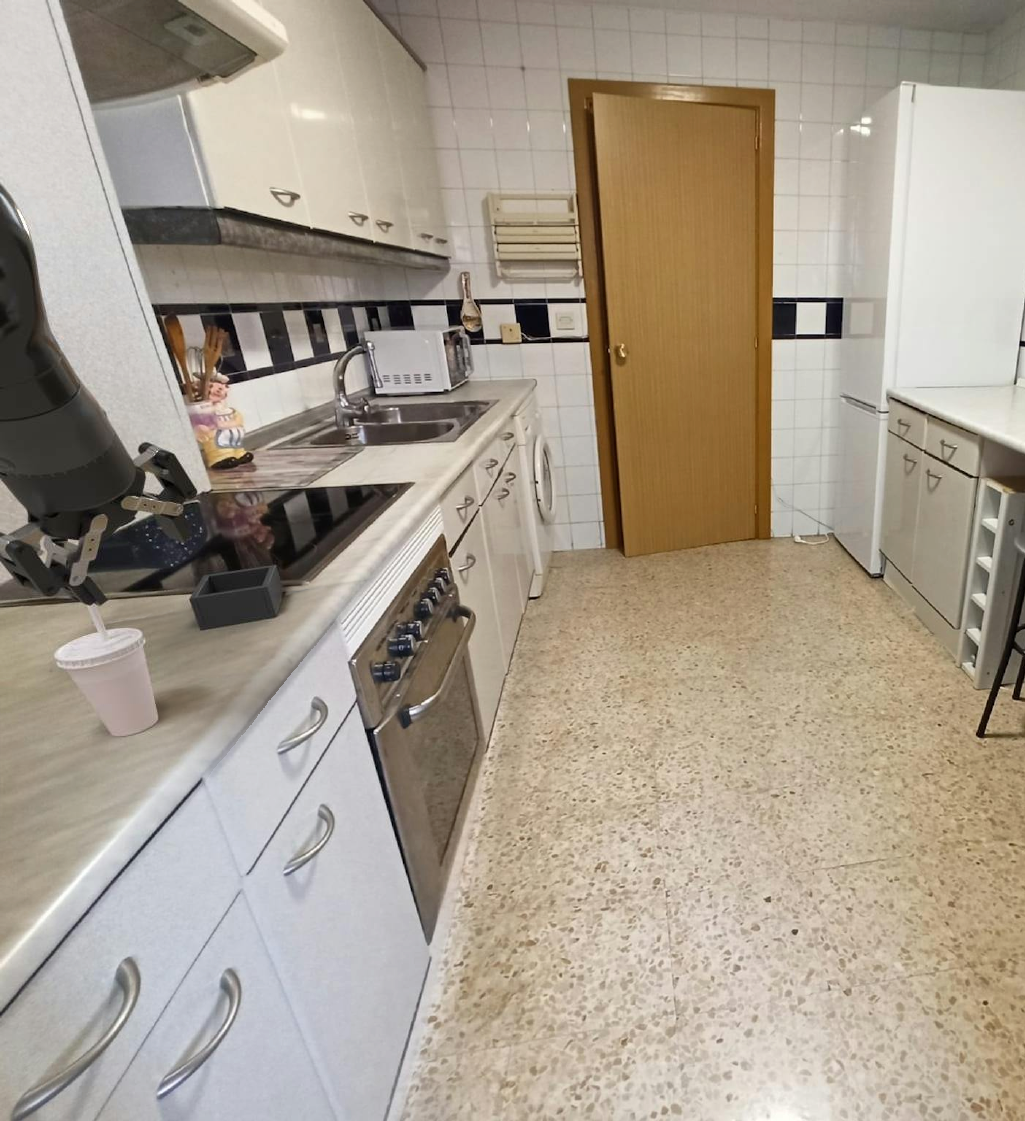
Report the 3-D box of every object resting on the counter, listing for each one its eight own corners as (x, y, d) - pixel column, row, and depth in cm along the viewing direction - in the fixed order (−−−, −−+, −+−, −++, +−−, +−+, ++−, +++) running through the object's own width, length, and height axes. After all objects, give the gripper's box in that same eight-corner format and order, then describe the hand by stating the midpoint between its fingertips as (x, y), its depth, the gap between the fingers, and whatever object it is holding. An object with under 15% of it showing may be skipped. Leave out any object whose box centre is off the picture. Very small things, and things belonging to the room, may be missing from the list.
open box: (200, 630, 85) (188, 598, 83) (214, 604, 92) (203, 575, 90) (276, 617, 89) (267, 586, 87) (284, 593, 96) (276, 564, 94)
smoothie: (171, 730, 66) (120, 607, 61) (85, 753, 63) (23, 625, 57) (178, 699, 71) (131, 583, 65) (99, 719, 68) (43, 598, 62)
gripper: (94, 373, 54) (171, 505, 66) (-108, 472, 45) (24, 606, 57) (176, 408, 54) (237, 534, 66) (-10, 515, 45) (102, 640, 57)
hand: (139, 567), depth 61 cm, fingers open, 8 cm apart
